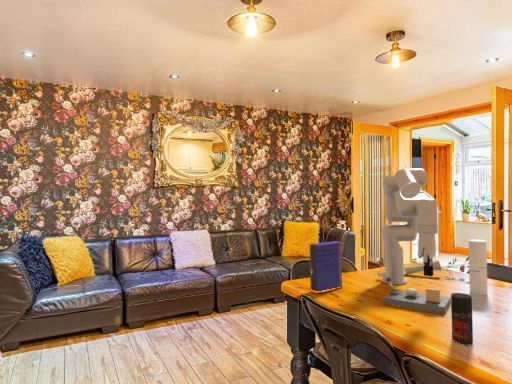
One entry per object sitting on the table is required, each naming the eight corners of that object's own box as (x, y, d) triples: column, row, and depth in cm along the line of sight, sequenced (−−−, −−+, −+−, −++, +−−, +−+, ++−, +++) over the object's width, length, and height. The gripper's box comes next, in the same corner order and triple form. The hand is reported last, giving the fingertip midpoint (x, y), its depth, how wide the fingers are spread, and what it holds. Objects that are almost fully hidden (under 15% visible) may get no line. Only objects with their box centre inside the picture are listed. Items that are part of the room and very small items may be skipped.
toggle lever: (391, 291, 160) (384, 278, 161) (392, 290, 161) (386, 277, 163) (395, 290, 159) (388, 277, 160) (396, 289, 160) (390, 276, 162)
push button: (405, 294, 155) (405, 290, 155) (407, 292, 158) (407, 287, 158) (416, 296, 152) (415, 291, 152) (418, 293, 156) (418, 289, 156)
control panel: (383, 304, 155) (383, 296, 155) (393, 295, 168) (393, 288, 168) (444, 314, 140) (444, 306, 140) (451, 304, 153) (450, 296, 153)
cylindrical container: (490, 295, 165) (488, 241, 165) (473, 294, 166) (472, 241, 166) (483, 290, 172) (482, 239, 172) (467, 290, 173) (466, 239, 173)
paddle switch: (426, 300, 148) (425, 288, 148) (427, 299, 150) (426, 287, 150) (439, 302, 145) (438, 290, 145) (440, 301, 147) (439, 289, 147)
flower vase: (409, 286, 211) (474, 276, 199) (408, 285, 200) (477, 274, 188) (403, 266, 215) (467, 255, 203) (403, 264, 204) (470, 252, 193)
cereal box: (335, 286, 187) (334, 240, 187) (342, 288, 183) (341, 241, 183) (310, 291, 177) (309, 244, 177) (317, 293, 173) (316, 245, 173)
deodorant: (448, 338, 119) (447, 293, 119) (464, 337, 119) (463, 292, 119) (459, 345, 113) (458, 298, 113) (477, 344, 113) (476, 297, 113)
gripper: (421, 227, 149) (422, 271, 149) (412, 230, 137) (413, 278, 137) (441, 228, 145) (442, 273, 145) (433, 231, 133) (435, 280, 133)
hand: (428, 275), depth 141 cm, fingers closed
